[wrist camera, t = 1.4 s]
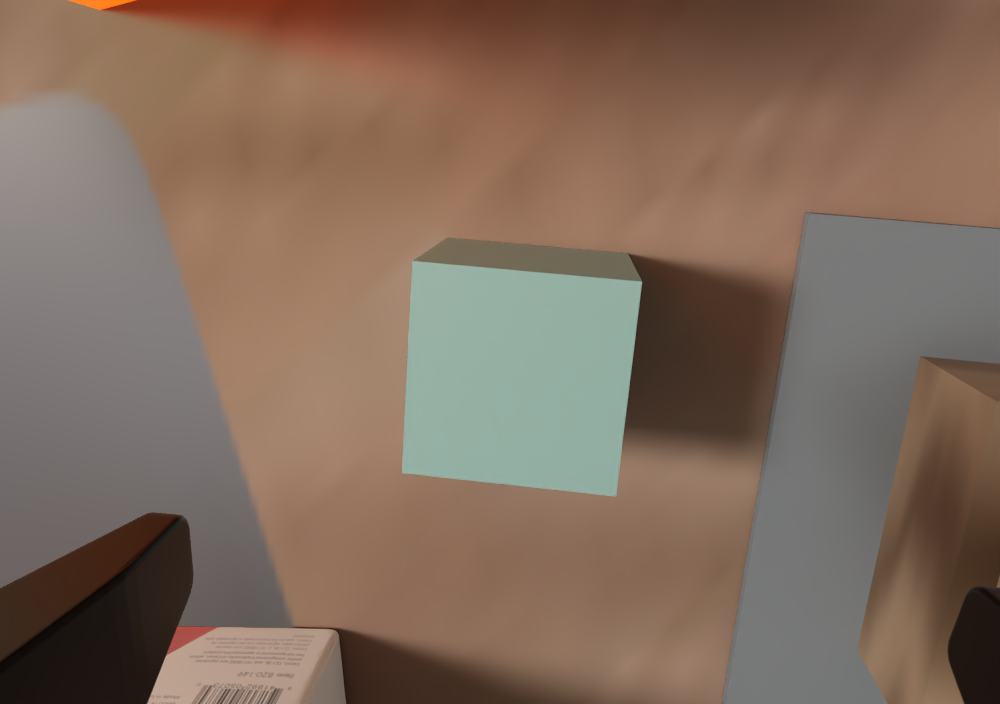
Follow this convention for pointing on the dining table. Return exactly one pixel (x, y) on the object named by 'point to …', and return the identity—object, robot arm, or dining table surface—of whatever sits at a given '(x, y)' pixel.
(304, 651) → the ink cartridge box
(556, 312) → the sage cube
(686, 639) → the dining table surface
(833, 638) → the slate mat
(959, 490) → the walnut slab
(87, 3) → the orange juice
